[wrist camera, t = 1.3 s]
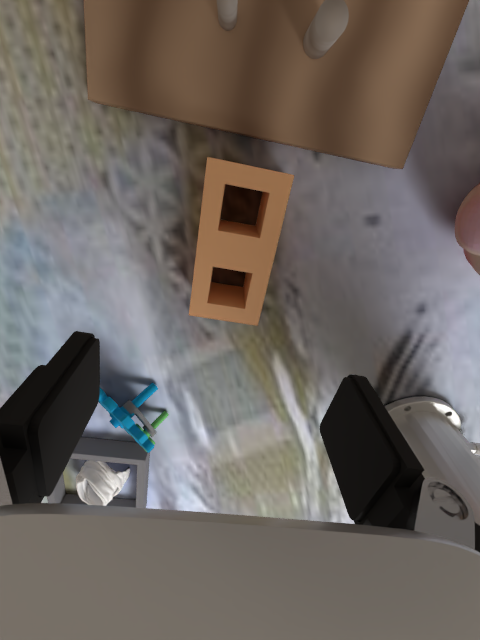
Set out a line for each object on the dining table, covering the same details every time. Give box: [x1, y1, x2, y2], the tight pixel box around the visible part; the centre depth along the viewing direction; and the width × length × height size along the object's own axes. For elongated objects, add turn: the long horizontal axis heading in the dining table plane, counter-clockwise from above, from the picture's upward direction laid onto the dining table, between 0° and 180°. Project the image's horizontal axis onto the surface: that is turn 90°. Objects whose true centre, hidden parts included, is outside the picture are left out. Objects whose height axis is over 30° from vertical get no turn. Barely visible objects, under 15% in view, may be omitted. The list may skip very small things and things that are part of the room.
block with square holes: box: [189, 157, 294, 326], centre depth 25 cm, size 12×6×5 cm, turn 169°
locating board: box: [84, 0, 469, 169], centre depth 18 cm, size 24×12×5 cm, turn 79°
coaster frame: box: [47, 437, 150, 508], centre depth 41 cm, size 13×14×2 cm
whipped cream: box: [76, 460, 130, 506], centre depth 41 cm, size 8×7×5 cm
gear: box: [98, 383, 168, 453], centre depth 33 cm, size 11×6×10 cm
